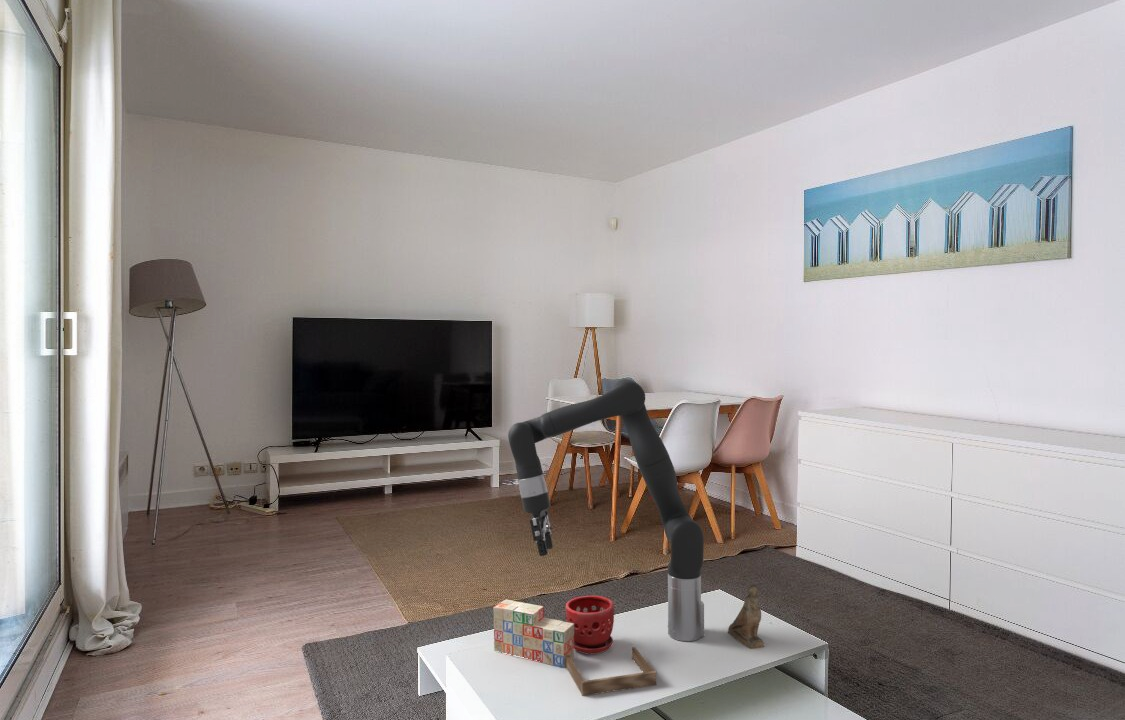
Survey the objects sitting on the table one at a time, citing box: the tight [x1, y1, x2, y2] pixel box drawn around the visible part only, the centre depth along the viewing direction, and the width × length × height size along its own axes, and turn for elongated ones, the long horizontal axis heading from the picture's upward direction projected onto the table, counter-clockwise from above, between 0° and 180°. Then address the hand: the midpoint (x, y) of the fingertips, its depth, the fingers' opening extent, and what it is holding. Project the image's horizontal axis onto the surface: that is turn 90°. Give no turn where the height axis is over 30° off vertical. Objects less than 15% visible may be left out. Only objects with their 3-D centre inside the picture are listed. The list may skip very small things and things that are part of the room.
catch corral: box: [565, 646, 657, 697], centre depth 163 cm, size 19×14×3 cm
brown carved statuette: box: [727, 585, 765, 650], centre depth 182 cm, size 12×6×18 cm, turn 14°
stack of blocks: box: [493, 599, 575, 669], centre depth 175 cm, size 21×6×12 cm, turn 62°
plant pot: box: [565, 595, 615, 655], centre depth 179 cm, size 13×13×12 cm
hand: (546, 551), depth 181 cm, fingers open, 8 cm apart
